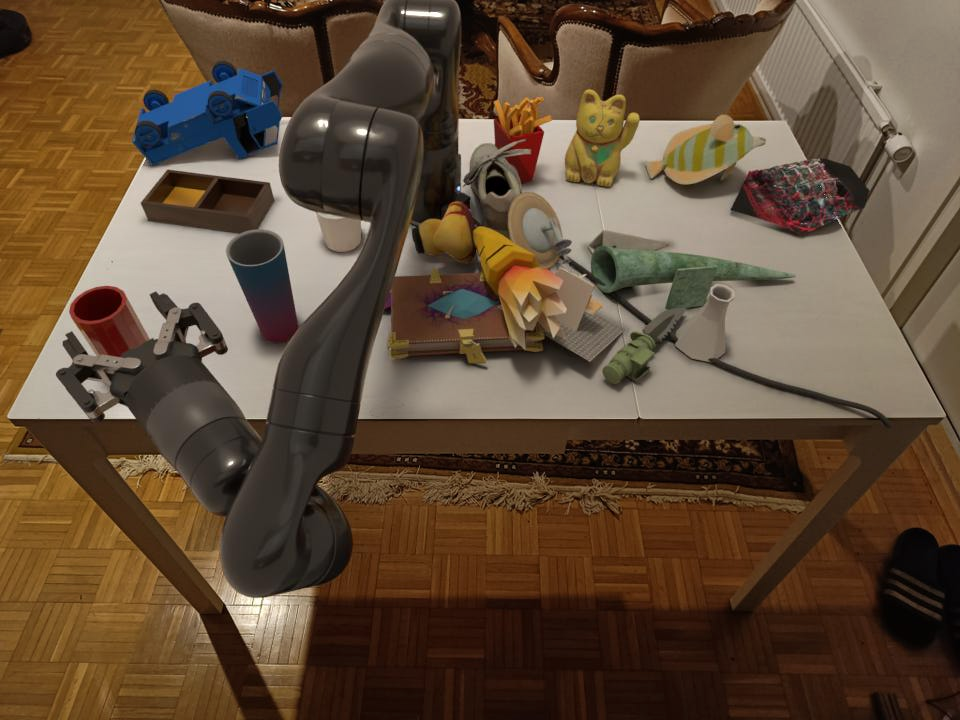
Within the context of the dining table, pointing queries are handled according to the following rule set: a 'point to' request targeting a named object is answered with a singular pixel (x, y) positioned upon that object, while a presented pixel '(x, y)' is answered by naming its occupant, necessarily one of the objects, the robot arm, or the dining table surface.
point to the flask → (706, 327)
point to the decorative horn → (671, 273)
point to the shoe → (495, 183)
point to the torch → (519, 285)
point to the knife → (641, 348)
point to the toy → (448, 234)
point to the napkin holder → (581, 318)
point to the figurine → (599, 139)
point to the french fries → (520, 134)
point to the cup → (265, 282)
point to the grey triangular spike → (624, 242)
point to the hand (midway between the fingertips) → (114, 318)
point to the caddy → (208, 201)
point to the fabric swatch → (801, 194)
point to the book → (450, 317)
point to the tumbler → (107, 321)
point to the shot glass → (340, 232)
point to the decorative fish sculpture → (705, 151)
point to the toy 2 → (537, 229)
